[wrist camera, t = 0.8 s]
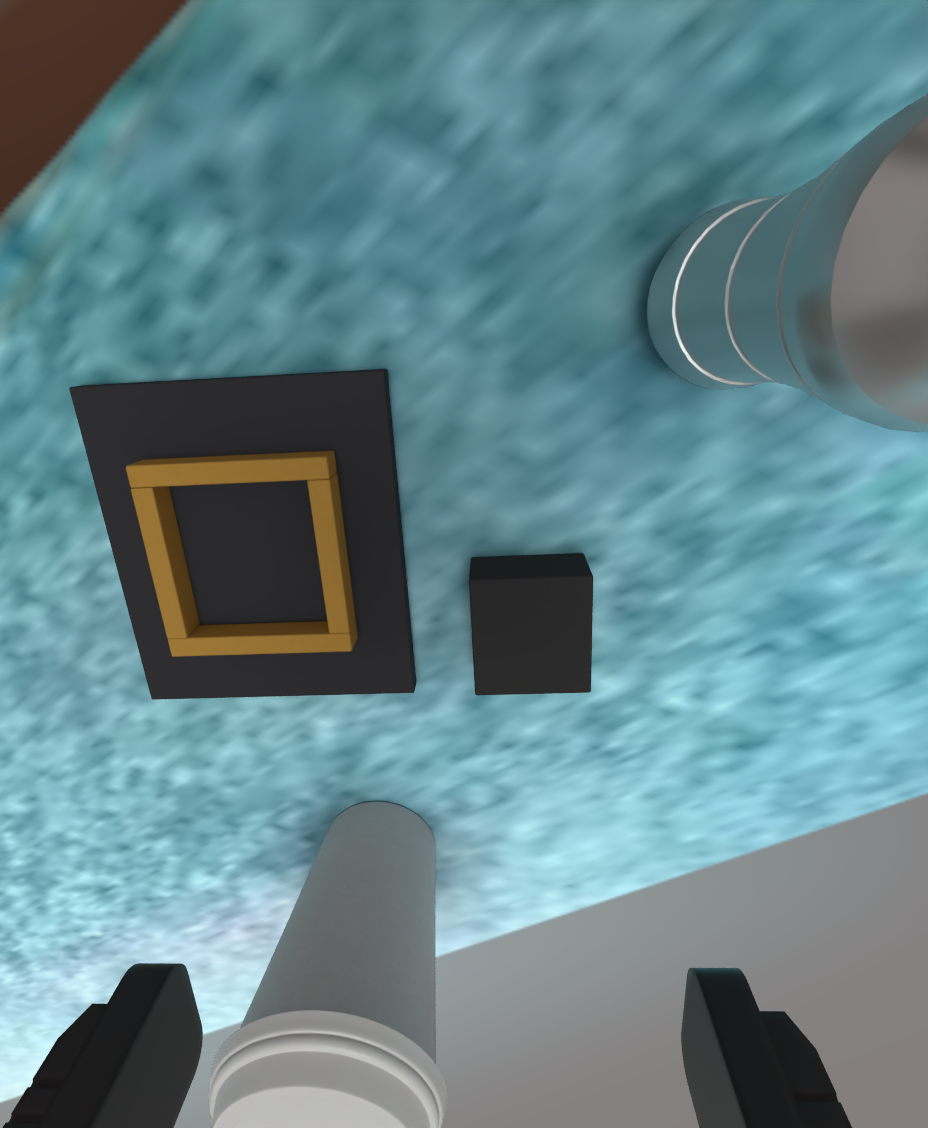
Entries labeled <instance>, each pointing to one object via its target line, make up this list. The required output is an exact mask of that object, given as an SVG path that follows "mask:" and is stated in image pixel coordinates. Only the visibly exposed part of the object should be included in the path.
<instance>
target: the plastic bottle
mask: <svg viewBox="0 0 928 1128" xmlns="http://www.w3.org/2000/svg"><path fill="white" fill-rule="evenodd" d="M647 322H648V328H649V334H650V336H651V339H652V341H653V344H654V347H655V348H656V350H657V352H658V353H659V355H660V356H661V358H662V359H663V360H664V362H665V363H666V364H667V365H668V366H669V367H670V368H671V369H672V370H673V371H674V372H675V373H676V374H677V375H678V376H680V377H682V378H683V379H685V380H687V381H688V382H690V383H692V384H695V385H698V386H701V387H704V388H709V389H720V390H724V389H733V388H741V387H749V386H754V385H757V384H760V383H765V382H778V383H781V384H785V385H788V386H792V387H795V388H798V389H801V390H802V391H804V392H806V393H808V394H810V395H811V396H813V397H815V398H817V399H819V400H820V401H822V402H824V403H826V404H828V405H829V406H831V407H833V408H835V409H837V410H838V411H840V412H841V413H843V414H846V415H849V416H852V417H855V418H857V419H860V420H862V421H865V422H868V423H871V424H874V425H877V426H880V427H883V428H886V429H891V430H901V431H912V432H923V431H928V94H927V95H925V96H924V97H922V98H920V99H919V100H917V101H915V102H913V103H912V104H910V105H908V106H907V107H905V108H904V109H902V110H901V111H899V112H898V113H897V114H895V115H894V116H892V117H891V118H889V119H887V120H886V121H884V122H883V123H881V124H880V125H879V126H878V127H876V128H875V129H874V130H873V131H871V132H870V133H869V134H868V135H867V136H865V137H864V138H863V139H862V140H861V141H859V142H858V143H857V144H856V145H855V146H853V147H852V148H851V149H850V150H849V151H848V152H847V153H846V154H844V155H843V156H842V157H841V158H840V159H838V160H837V161H836V162H835V163H834V164H832V165H831V166H830V167H829V168H828V169H826V170H825V171H824V172H823V173H822V174H820V175H819V176H818V177H817V178H815V179H813V180H811V181H810V182H808V183H806V184H805V185H803V186H801V187H800V188H798V189H796V190H795V191H793V192H791V193H789V194H785V195H781V196H777V197H758V198H751V199H744V200H738V201H733V202H730V203H727V204H724V205H721V206H718V207H716V208H714V209H712V210H711V211H709V212H707V213H705V214H704V215H702V216H700V217H699V218H698V219H696V220H695V221H694V222H693V223H692V224H691V225H689V226H688V227H687V228H686V229H685V230H684V231H683V232H682V233H681V234H680V235H679V237H678V238H677V239H676V240H675V241H674V243H673V244H672V245H671V246H670V248H669V249H668V251H667V252H666V254H665V256H664V257H663V259H662V261H661V263H660V264H659V266H658V268H657V270H656V272H655V275H654V278H653V280H652V283H651V285H650V290H649V295H648V300H647Z"/></svg>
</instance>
